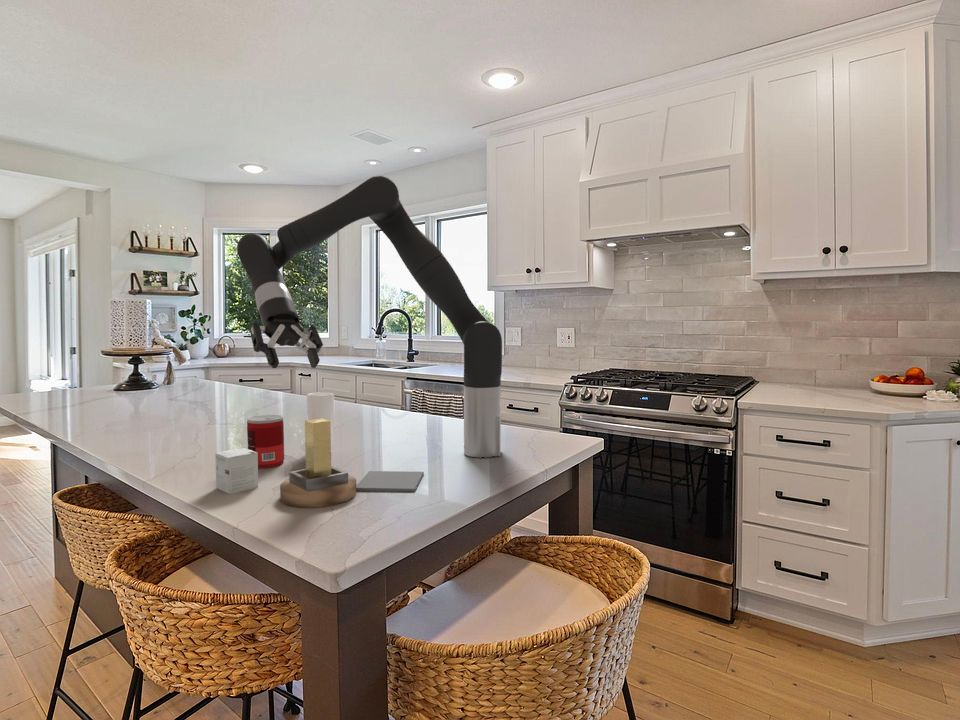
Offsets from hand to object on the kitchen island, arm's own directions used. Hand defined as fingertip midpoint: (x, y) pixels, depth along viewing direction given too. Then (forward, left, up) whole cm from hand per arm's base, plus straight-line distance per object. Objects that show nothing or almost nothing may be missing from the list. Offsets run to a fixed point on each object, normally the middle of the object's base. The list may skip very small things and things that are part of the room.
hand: (296, 365), depth 113 cm
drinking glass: (+3, -24, -24) cm, 34 cm away
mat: (-20, +1, -24) cm, 31 cm away
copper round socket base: (-8, +10, -24) cm, 27 cm away
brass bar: (-8, +10, -22) cm, 25 cm away
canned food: (+12, -12, -24) cm, 30 cm away
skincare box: (+10, +6, -24) cm, 27 cm away
